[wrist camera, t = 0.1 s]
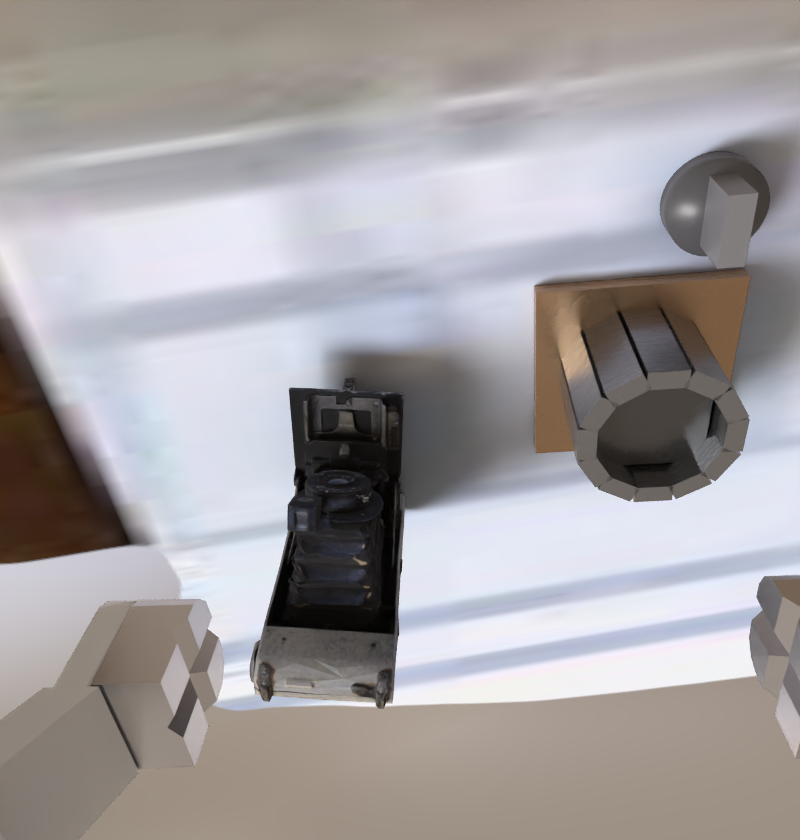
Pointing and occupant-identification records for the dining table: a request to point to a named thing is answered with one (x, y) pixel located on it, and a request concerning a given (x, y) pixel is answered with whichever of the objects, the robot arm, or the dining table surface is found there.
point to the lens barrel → (641, 379)
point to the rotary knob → (715, 207)
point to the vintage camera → (338, 553)
